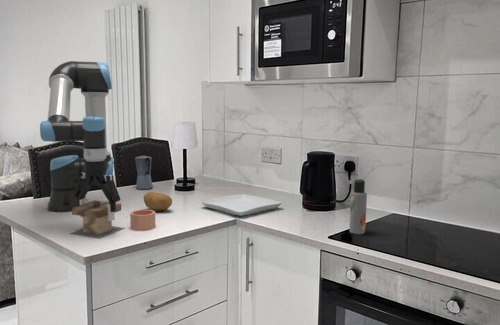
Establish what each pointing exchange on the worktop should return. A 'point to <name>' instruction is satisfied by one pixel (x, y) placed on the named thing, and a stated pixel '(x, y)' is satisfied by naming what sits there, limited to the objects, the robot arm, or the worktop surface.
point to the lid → (94, 209)
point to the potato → (157, 201)
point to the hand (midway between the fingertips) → (97, 218)
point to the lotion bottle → (358, 208)
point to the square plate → (241, 204)
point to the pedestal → (96, 225)
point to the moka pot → (143, 172)
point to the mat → (81, 233)
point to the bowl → (142, 219)
